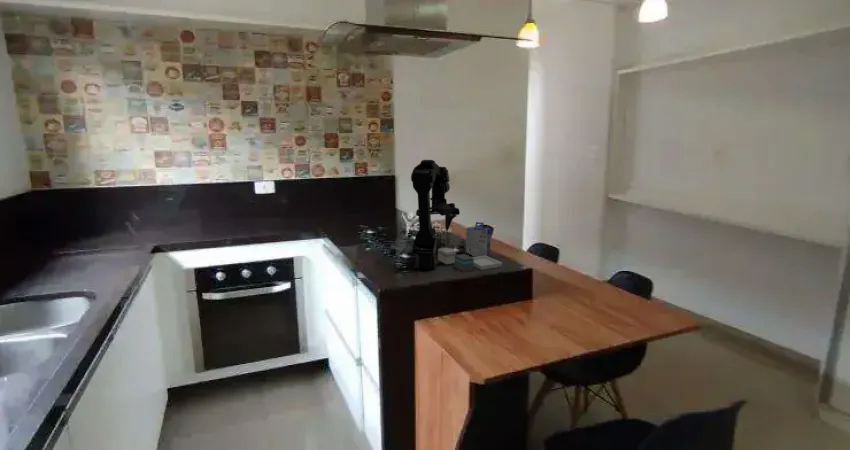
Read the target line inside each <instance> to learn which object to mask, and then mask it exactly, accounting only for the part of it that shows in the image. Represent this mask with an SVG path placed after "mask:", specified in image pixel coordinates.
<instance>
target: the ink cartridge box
mask: <svg viewBox="0 0 850 450" xmlns="http://www.w3.org/2000/svg"><path fill="white" fill-rule="evenodd" d="M484 224H485V223H484V222H478V221H476V222H475V224H474V225H475V226H469V227H467V228H466V230H465V231H466V233H465V234H466V235H465V240H466V241H465V253H466V252H467V253H469V254H471V255H472V256H471V257H478V256H488V257H490V256H491V241H492V240H491V236H492V228H491V227H484Z"/></svg>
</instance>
